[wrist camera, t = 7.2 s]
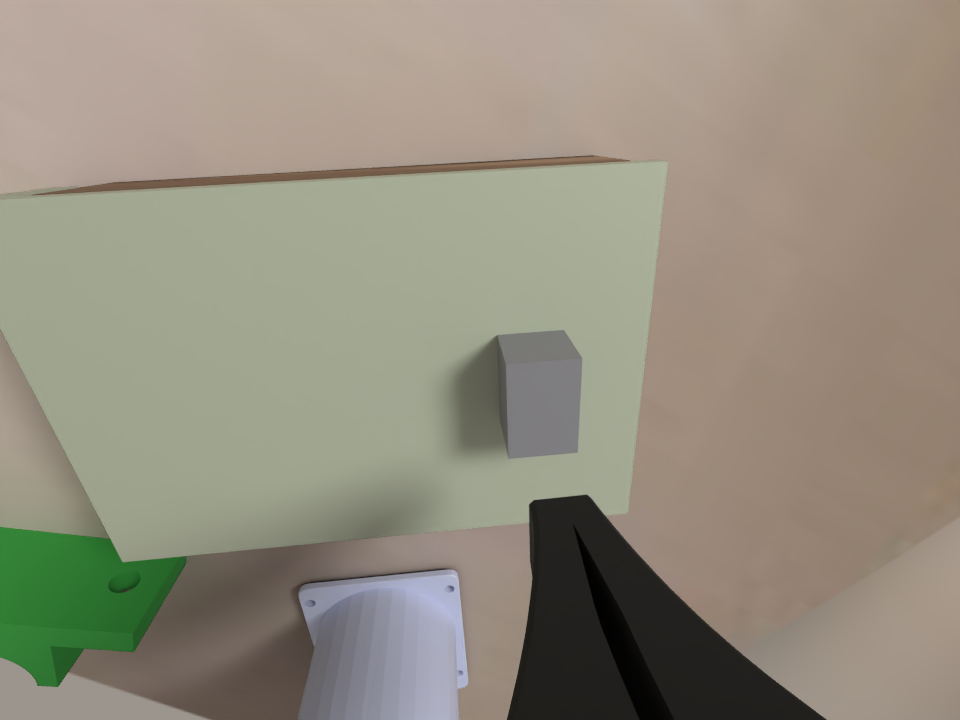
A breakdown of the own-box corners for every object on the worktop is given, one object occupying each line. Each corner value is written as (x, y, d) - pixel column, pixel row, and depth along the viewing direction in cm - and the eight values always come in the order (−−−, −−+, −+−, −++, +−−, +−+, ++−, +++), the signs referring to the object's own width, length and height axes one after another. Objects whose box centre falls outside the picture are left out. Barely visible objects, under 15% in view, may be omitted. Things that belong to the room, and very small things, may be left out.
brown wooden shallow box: (578, 441, 22) (602, 494, 18) (218, 473, 21) (179, 534, 18) (592, 155, 16) (629, 160, 13) (113, 182, 16) (30, 194, 12)
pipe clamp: (-68, 573, 22) (-185, 673, 18) (-87, 512, 21) (-219, 606, 17) (188, 598, 24) (135, 695, 20) (188, 544, 23) (130, 636, 18)
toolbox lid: (596, 451, 21) (649, 556, 16) (176, 488, 20) (83, 614, 15) (617, 155, 16) (707, 165, 10) (51, 187, 15) (-161, 216, 10)
